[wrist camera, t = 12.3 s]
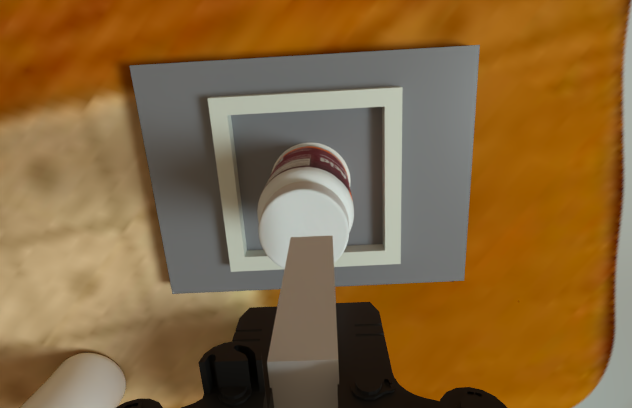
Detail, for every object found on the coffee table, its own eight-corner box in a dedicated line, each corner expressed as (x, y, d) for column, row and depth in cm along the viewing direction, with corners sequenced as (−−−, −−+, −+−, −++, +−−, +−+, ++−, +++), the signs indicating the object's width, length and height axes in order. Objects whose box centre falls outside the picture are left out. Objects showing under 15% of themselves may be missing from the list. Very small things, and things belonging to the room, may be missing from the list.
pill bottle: (361, 196, 26) (376, 254, 19) (294, 228, 27) (282, 298, 19) (326, 129, 25) (327, 161, 17) (257, 165, 26) (228, 211, 18)
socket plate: (179, 282, 30) (167, 301, 28) (139, 65, 26) (121, 65, 23) (457, 270, 30) (469, 288, 28) (470, 45, 25) (486, 44, 23)
